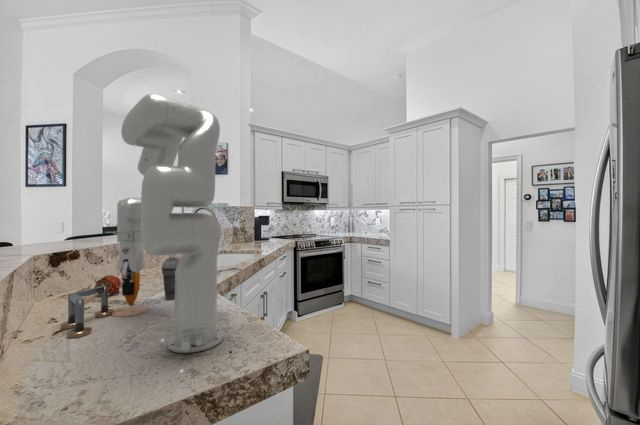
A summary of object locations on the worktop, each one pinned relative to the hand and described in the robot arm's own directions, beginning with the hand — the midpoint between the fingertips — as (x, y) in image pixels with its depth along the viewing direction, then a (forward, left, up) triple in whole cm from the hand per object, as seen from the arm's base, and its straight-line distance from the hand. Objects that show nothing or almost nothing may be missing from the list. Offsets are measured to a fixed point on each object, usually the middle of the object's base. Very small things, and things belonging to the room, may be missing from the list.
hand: (131, 292), depth 94 cm
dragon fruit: (+28, +16, -7) cm, 33 cm away
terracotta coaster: (0, 0, -6) cm, 6 cm away
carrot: (0, 0, -5) cm, 5 cm away
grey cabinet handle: (-9, +10, -6) cm, 15 cm away
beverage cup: (+13, -10, -7) cm, 18 cm away
